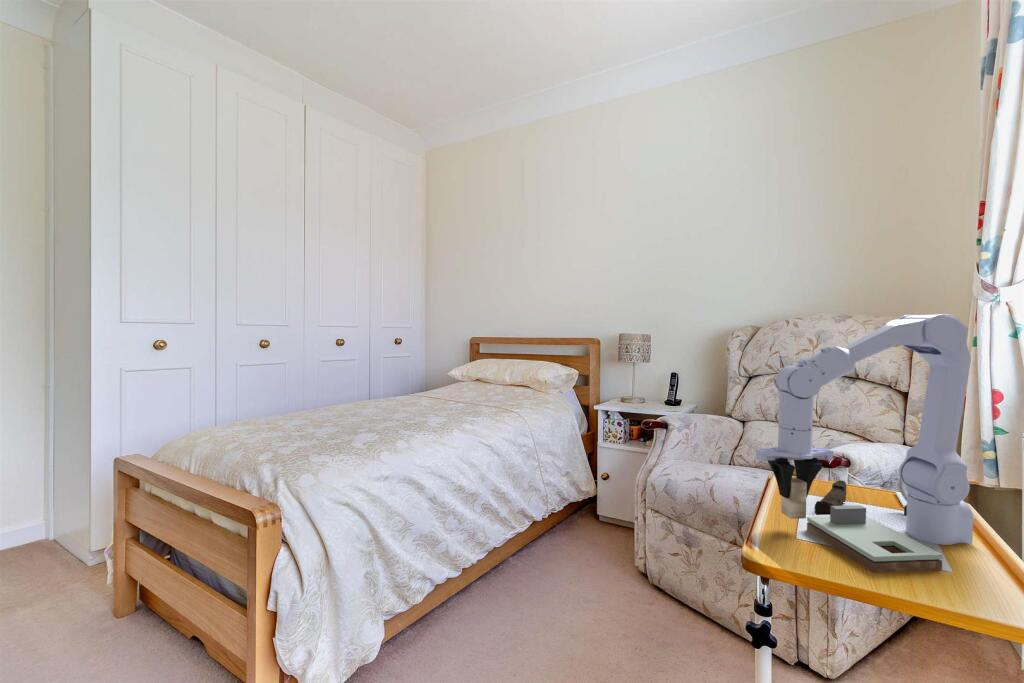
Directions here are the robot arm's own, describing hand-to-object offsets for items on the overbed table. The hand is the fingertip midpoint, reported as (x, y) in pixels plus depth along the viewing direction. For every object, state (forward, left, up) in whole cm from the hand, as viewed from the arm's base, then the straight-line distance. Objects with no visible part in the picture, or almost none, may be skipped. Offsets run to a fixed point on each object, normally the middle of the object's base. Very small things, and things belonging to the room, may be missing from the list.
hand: (793, 496), depth 94 cm
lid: (-9, +8, -5) cm, 13 cm away
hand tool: (-20, -15, -9) cm, 26 cm away
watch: (-33, -6, -9) cm, 35 cm away
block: (0, 0, -4) cm, 4 cm away
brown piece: (-9, +8, -8) cm, 15 cm away
